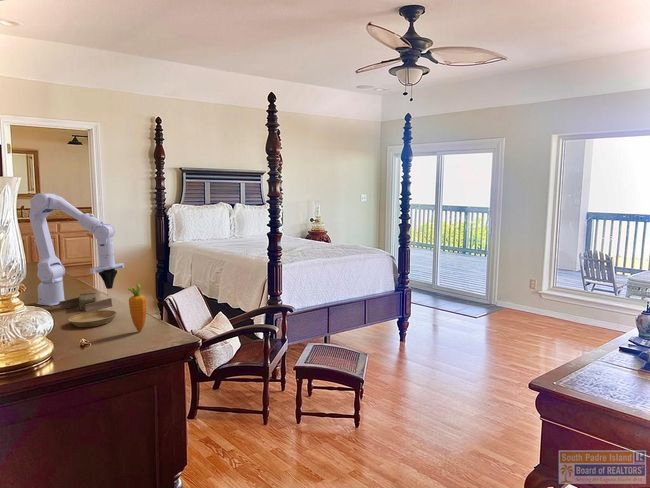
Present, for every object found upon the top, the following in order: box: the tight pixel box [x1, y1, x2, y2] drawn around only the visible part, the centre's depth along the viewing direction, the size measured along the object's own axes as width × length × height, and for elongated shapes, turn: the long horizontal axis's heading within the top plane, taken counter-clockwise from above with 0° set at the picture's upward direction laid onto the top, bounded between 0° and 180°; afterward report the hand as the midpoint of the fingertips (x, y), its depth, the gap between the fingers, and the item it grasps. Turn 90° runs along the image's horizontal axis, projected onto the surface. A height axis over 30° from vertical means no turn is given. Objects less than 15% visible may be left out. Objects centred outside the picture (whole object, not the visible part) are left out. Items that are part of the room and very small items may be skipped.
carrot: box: [127, 282, 147, 333], centre depth 146 cm, size 5×5×15 cm
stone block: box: [78, 292, 97, 311], centre depth 182 cm, size 6×12×5 cm, turn 26°
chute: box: [58, 296, 113, 313], centre depth 182 cm, size 15×11×3 cm
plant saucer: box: [67, 309, 118, 328], centre depth 160 cm, size 15×15×3 cm
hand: (109, 288), depth 191 cm, fingers closed
